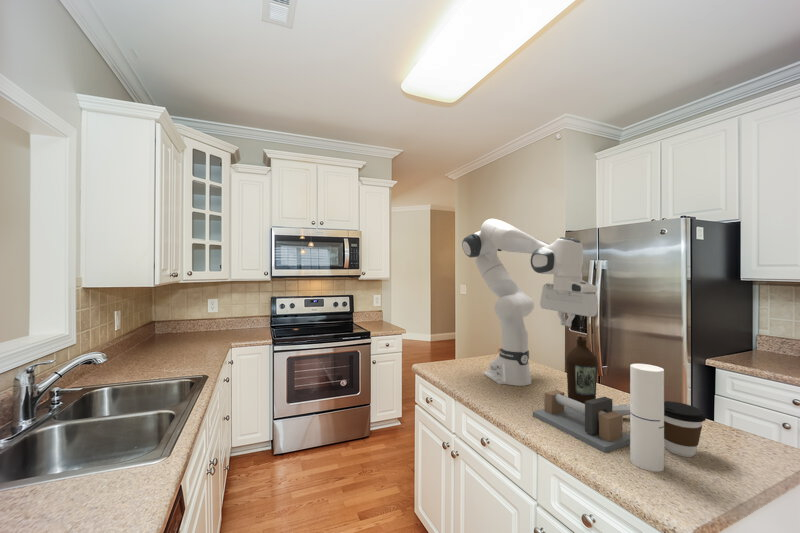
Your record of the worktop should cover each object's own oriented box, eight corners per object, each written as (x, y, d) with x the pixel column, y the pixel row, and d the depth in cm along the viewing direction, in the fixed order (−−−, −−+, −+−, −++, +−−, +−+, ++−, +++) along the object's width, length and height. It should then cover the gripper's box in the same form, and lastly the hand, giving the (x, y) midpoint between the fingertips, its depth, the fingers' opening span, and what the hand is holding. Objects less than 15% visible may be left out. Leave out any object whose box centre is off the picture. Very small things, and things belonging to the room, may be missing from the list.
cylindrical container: (624, 455, 93) (624, 363, 93) (651, 456, 93) (651, 363, 93) (642, 471, 86) (641, 371, 86) (671, 471, 86) (671, 371, 86)
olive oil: (562, 395, 138) (562, 333, 138) (590, 397, 136) (590, 333, 136) (571, 406, 127) (571, 338, 127) (602, 407, 125) (602, 339, 126)
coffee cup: (686, 464, 89) (686, 418, 89) (645, 444, 100) (645, 402, 100) (716, 458, 92) (716, 413, 92) (673, 439, 103) (673, 398, 103)
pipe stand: (532, 415, 118) (532, 392, 118) (561, 409, 124) (561, 386, 124) (604, 452, 95) (604, 423, 95) (636, 442, 101) (636, 414, 101)
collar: (584, 431, 103) (584, 401, 103) (604, 425, 107) (604, 396, 107) (592, 434, 101) (592, 404, 101) (612, 428, 105) (612, 399, 105)
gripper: (536, 282, 125) (535, 320, 125) (588, 287, 106) (586, 332, 107) (549, 282, 128) (547, 319, 128) (601, 287, 109) (600, 330, 109)
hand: (565, 325), depth 117 cm, fingers closed
